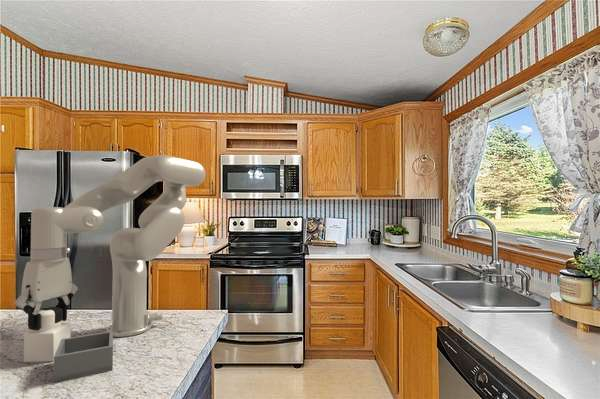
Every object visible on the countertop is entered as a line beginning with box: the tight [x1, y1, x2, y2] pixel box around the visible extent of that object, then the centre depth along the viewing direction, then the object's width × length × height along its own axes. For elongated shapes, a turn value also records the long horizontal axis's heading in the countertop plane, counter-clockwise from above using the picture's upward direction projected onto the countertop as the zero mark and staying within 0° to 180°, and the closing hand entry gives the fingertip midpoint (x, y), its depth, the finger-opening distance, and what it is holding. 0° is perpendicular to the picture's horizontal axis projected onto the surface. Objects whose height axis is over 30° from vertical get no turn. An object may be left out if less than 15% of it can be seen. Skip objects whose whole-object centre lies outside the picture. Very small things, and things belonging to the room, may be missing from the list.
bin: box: [53, 331, 114, 383], centre depth 80 cm, size 11×11×6 cm
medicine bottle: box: [22, 306, 72, 363], centre depth 85 cm, size 7×7×12 cm
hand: (48, 324), depth 85 cm, fingers closed on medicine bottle, 6 cm apart
